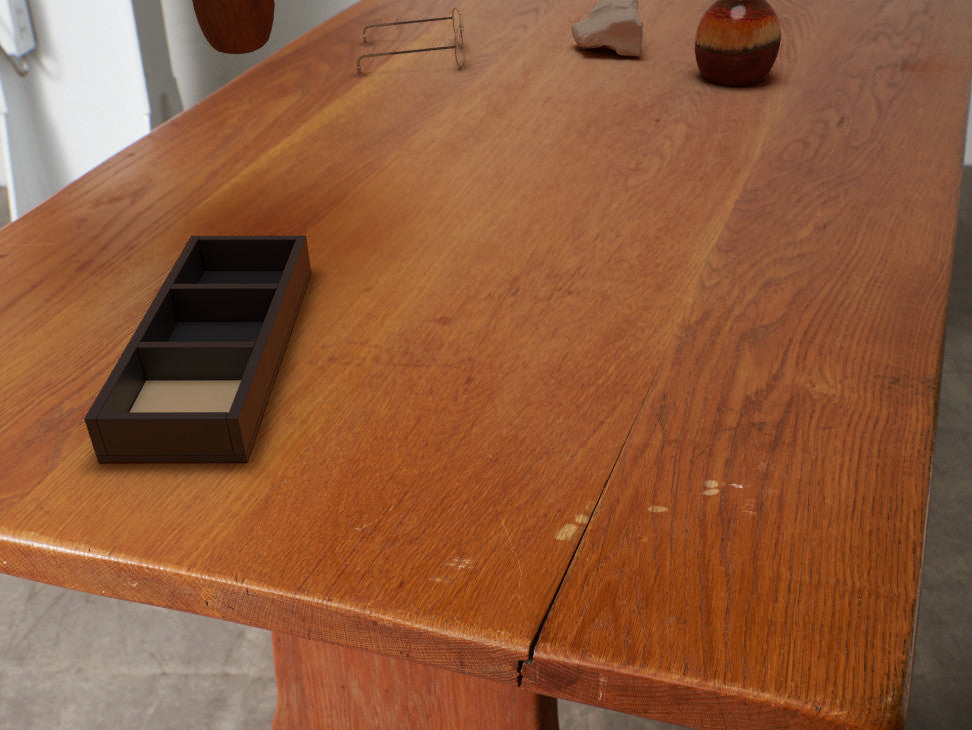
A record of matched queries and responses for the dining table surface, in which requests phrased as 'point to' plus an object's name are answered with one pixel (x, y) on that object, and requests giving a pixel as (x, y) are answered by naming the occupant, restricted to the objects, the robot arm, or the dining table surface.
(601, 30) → the decorative stone
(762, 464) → the dining table surface
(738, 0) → the vase
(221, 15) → the wooden figurine
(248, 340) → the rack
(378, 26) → the eyeglasses
